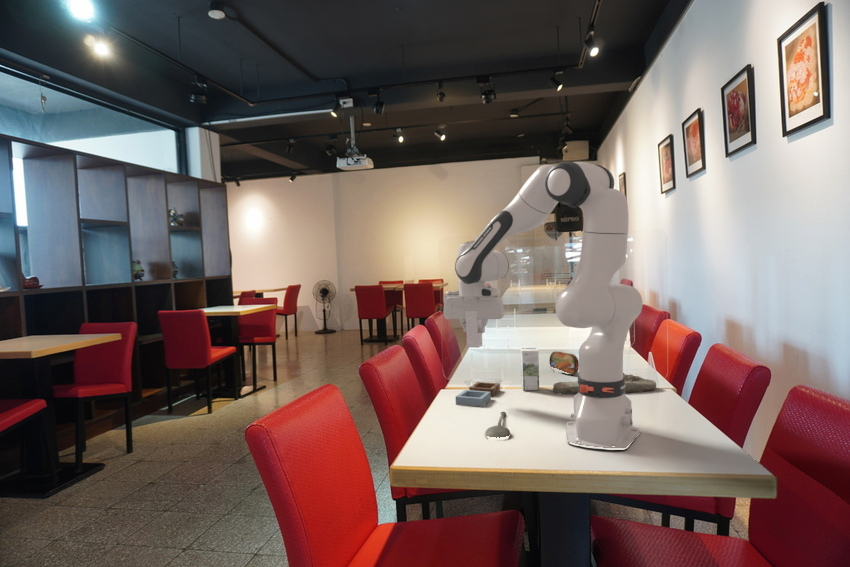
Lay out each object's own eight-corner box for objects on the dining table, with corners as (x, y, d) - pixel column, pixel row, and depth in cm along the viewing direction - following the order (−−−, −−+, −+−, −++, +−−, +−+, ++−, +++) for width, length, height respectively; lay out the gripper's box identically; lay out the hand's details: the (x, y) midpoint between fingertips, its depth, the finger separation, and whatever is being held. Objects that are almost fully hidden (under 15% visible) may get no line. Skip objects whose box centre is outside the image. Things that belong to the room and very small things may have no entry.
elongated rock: (550, 392, 185) (556, 401, 175) (549, 378, 184) (555, 386, 174) (649, 384, 184) (661, 392, 174) (648, 369, 183) (660, 377, 173)
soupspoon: (483, 444, 135) (509, 447, 134) (483, 432, 135) (509, 434, 133) (492, 415, 156) (514, 417, 155) (493, 404, 156) (515, 406, 154)
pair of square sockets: (482, 406, 165) (481, 398, 165) (455, 404, 169) (455, 396, 169) (500, 390, 184) (500, 383, 184) (476, 388, 188) (476, 381, 188)
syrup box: (537, 386, 187) (536, 346, 186) (539, 391, 181) (538, 349, 180) (521, 387, 188) (520, 347, 187) (523, 391, 182) (521, 350, 181)
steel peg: (478, 347, 169) (476, 310, 169) (466, 347, 171) (465, 311, 171) (482, 345, 173) (480, 309, 173) (471, 345, 175) (469, 309, 174)
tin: (549, 370, 213) (548, 350, 213) (555, 369, 214) (554, 349, 214) (574, 377, 199) (573, 355, 199) (580, 376, 201) (580, 354, 200)
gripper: (439, 292, 173) (441, 333, 174) (498, 290, 164) (500, 334, 165) (447, 290, 179) (448, 330, 179) (504, 289, 170) (506, 331, 170)
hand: (474, 332), depth 172 cm, fingers closed on steel peg, 4 cm apart
